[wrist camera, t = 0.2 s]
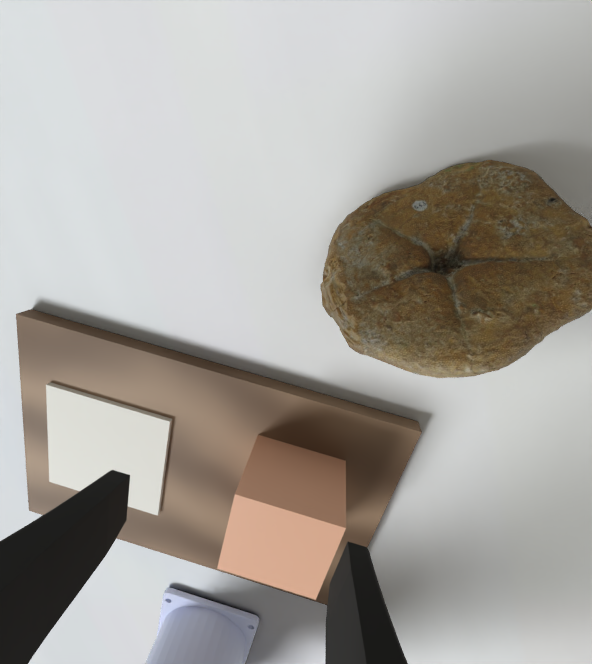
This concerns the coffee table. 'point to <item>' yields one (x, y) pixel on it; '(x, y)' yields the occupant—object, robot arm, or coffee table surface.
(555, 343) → the coffee table surface
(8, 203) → the coffee table surface
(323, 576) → the salmon pink cube
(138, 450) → the mat
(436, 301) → the fossil
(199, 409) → the post board
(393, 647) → the robot arm
